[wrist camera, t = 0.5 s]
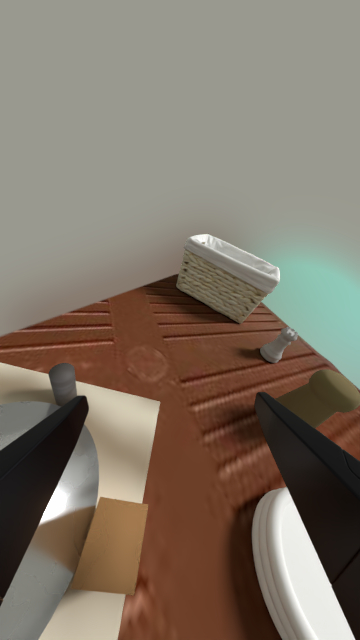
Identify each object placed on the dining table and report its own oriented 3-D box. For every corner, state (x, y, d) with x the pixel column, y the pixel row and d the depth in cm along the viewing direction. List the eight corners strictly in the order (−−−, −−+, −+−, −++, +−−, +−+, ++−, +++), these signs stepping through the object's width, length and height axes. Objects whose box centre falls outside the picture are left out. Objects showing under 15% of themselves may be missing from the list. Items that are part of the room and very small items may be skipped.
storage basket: (252, 307, 57) (281, 266, 48) (245, 331, 44) (282, 281, 36) (190, 275, 62) (207, 232, 53) (168, 288, 49) (185, 235, 40)
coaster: (324, 756, 10) (383, 812, 8) (229, 523, 17) (249, 522, 15) (373, 609, 15) (417, 621, 13) (285, 473, 22) (306, 467, 20)
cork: (263, 415, 27) (317, 376, 20) (273, 393, 31) (322, 355, 24) (300, 450, 24) (376, 419, 18) (306, 421, 28) (370, 387, 22)
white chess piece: (271, 366, 37) (297, 341, 32) (255, 350, 39) (277, 325, 34) (280, 360, 39) (306, 336, 34) (265, 346, 42) (287, 322, 37)
